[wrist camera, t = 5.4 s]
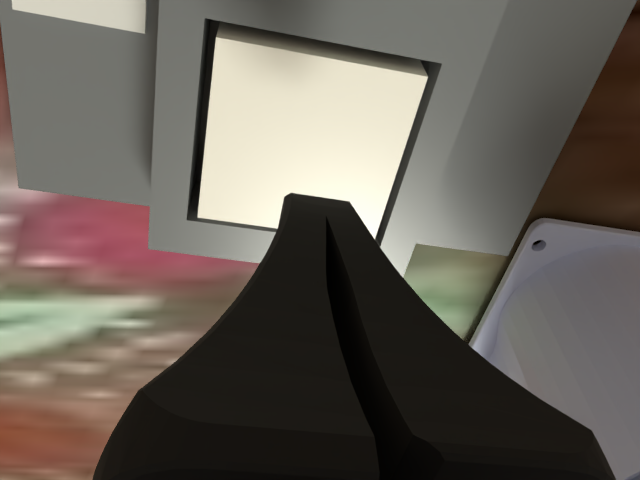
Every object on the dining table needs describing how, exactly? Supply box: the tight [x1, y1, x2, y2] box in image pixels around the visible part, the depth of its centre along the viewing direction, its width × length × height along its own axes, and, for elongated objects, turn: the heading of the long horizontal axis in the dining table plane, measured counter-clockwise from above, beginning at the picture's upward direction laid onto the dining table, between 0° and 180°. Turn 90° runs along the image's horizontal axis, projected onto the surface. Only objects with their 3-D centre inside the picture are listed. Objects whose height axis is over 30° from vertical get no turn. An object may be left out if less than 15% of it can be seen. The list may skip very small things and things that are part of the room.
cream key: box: [197, 21, 428, 239], centre depth 16 cm, size 5×5×2 cm
